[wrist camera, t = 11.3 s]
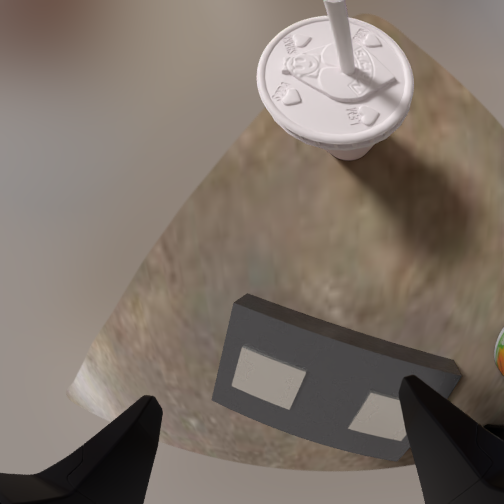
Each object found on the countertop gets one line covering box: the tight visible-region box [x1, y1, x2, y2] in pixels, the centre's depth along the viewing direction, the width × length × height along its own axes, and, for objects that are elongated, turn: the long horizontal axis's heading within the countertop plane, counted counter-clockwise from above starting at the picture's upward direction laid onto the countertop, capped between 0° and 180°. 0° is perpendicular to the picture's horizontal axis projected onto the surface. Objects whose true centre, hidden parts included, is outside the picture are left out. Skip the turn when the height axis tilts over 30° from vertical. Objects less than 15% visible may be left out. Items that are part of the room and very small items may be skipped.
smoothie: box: [257, 0, 414, 160], centre depth 11 cm, size 6×6×14 cm
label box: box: [212, 293, 461, 461], centre depth 18 cm, size 18×10×3 cm, turn 76°
